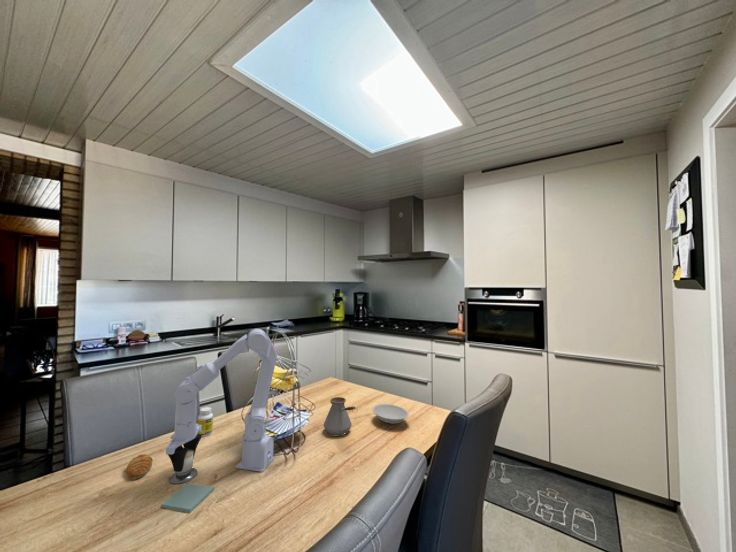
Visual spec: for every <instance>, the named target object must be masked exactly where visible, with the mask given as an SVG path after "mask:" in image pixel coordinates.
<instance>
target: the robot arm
mask: <svg viewBox="0 0 736 552" xmlns="http://www.w3.org/2000/svg"><path fill="white" fill-rule="evenodd" d="M250 350H251V351H252V352H254V353H256V354H257V355H258V356H259V358H261V361H260V366H259V371H258V375H257V380H256V384H255V389H254V395H253V399H252V402H251V406H250V409H249V411H248V413H247V415H246V416H245V418H244V432H243V435H242V448H241V449H242V453H241V461H240V462H239V463H238V464H237V465H236V466H235V467H236V469H241V470H247V471H248V470H249V471H255V472H256V471H257V472H264V471H265V469H267V467H268V466H269V465H270V464H271V463H272V461H274V459H275V456H274V443H275V442H274V438H273V436H270V435H267V432H266V425H265V419H266V410H267V409H266V408H267V404H268V400H269V396H270V391H271V390H270V389H271V385H272V382H273V377H274V374H275V373H274V371H275V369H276V368H275V367H276V363H277V359H278V354H277V351H276V349H275V347H274V344H273V343H272V341H271V339H270V336H269V335H268V333H266V332H265V331H264V330H263V329H261V328H254V329H253V328H252V330H250V331H249V332H248V334H247V333H246V334H244V335H243V336H241V337H240V338H238V339H237V340H236V341H235V342H234V343H232V345H231V346H229V347H228V348H227V349H226V350H224V352H223V353H222V354H220V356H218V357H217V358H216V359H215V360H214V361H212V362H205V363H203V364H202V363H201V364H200V365H199V366H198V369H197V370H196V371H195V372H194V373H192V374H191V375H190V376H189V375H188V376H186V377H185V380H184V381H181V383H180V384H179V385H178V386H177V388H176V390H175V391H174V399H175V411H174V412H175V413H174V414H175V415H174V433H172V435H171V436H170V439H171V441H170V443H169V444H168V445H167V446H166V447H165V455H167V456H168V458H169V459H170V461H171V464H172V467H173V471H174V472H181V471H182V470H183V465H184V459H185V455H186V452H187V450H188V449H192V450H193V451H194V452H193V459H194V458H195V454H196V451H197V448H198V445H199V443H200V441H201V439H202V438H203V437H202V435H197V433H198V432H200V431H201V425H197V410H198V409H197V408H198V404H197V394H198V393H199V392H201V391H203V390H204V389H205V388H206V387H208V386H209V385H210V384H211V383H212V382H213V381H214V380H215V379H217V378H218V377H219V376H220V370H221V369H222V368H224V367H225V366H226V365H228V363H230V361H232V360H233V359H235V358H236V357H238V355H239V354H242V353H244V354H245V353H249V352H250ZM174 472H173V473H174Z"/></svg>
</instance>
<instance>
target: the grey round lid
mask: <svg viewBox="0 0 736 552" xmlns="http://www.w3.org/2000/svg"><path fill="white" fill-rule="evenodd" d="M198 473H199V472H198V469H196V468H195V467H192V468H191V469H190V470H188V471H186V472H182V473H176V472H173V473H171V474H170V475H169V477H168V482H169V484H171V485H181V484H187V483H189V482H190V481H192V480H194V479H195V478H196V477H197V475H198Z"/></svg>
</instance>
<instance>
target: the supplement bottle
mask: <svg viewBox="0 0 736 552" xmlns="http://www.w3.org/2000/svg"><path fill="white" fill-rule="evenodd" d="M199 410H200V411H199V415H198V416H197V422H196V425H201V431H200V432H198V433H197V435H202V438H204V437H207V436H211V434H212V433H213V425H214V414H213V413H212V407H210V406H209V407H208V406H207V407H202V408H200V409H199Z"/></svg>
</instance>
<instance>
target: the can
mask: <svg viewBox="0 0 736 552" xmlns="http://www.w3.org/2000/svg"><path fill="white" fill-rule="evenodd" d="M193 452H194V451H193V450H192V449H188V450H187V452H186V455H185V459H184V465H183V470H182V471H181V472H176V473H182V472H186V471H188V470H190V469H191V468H194V467H193V466H194V458H193Z"/></svg>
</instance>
